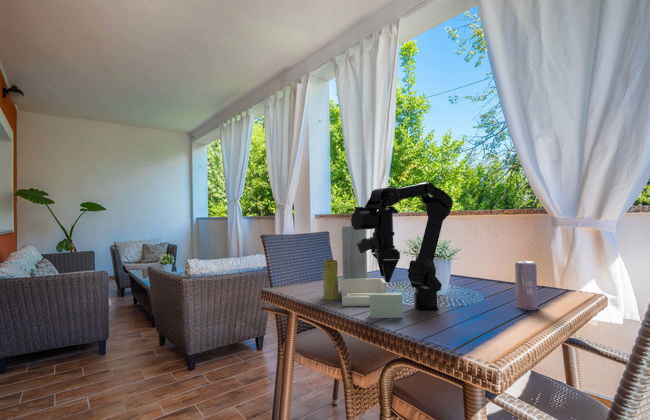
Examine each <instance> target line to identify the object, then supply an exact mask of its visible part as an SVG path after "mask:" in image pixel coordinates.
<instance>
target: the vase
mask: <svg viewBox="0 0 650 420" xmlns="http://www.w3.org/2000/svg"><path fill="white" fill-rule="evenodd" d="M338 271H339V270H338V260H336V259H325V260H323V296H322V299H323V300H325V301H337V300H339V298H340V294H339V293H340V292H339V280H338V279H339V278H338V274H339V273H338Z"/></svg>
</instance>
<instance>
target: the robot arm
mask: <svg viewBox="0 0 650 420" xmlns="http://www.w3.org/2000/svg"><path fill="white" fill-rule="evenodd" d="M419 196H420V198H421V202H422V203H423V204H424V205H426V206H425V212H426V215H427V221H426V225H425V230H424V233H423V236H422V241H421V244H420V248H419V253H418V257H416V259H415V260H410V262H409V265H408V270H407V278H408V279H409V282H410V285H411V288H415V292H414V293H413V298H414V299H413V303H414V304H413V305H414V306H415V307H416V308H417V309H418V310H419V311H430V310H432V311H433V310H435V311H437V310H438V311H439V310H440V307H438V292H439V291H441V290H442V286H443V285H442V283H441V281H440V280H439V279H438V278H437V277H436V273H437V269H436V268H437V267H436V266H435V262H434V260H435V256H436V251H437V247H438V243H439V239H440V235H441V230H442V226H443V222H444V221H445V219H446V218H447V217H448V216H449V215H450V214H451V211H452V208H453V205H454V201H453V198H452V197H451V195H449V194H448V193H447V192H446V191H445V190H443V189H441V188H439V187H437V186H435V185H434V183H432V182H430V181H426V182H420V183H419V182H418V183H417V184H413V185H408V186H403V187H399V188H398V187H383V188H376V189H373V190H372V191H371V193H370V197H369V198H368V201H367V202H366V204H365V205H364V206H356V207H354V212H353V213H352V215H351V218H350V222H351V223H350V224H351V226H353V228H354V229H355V230H365V229H366V230H374V231H373V232H372V236H371V237H368V238H367V237H366V238H364V239H361V241H359V242H357V243H356V244H357V247H358V249H359V252H360V253H364V252H365V251H367V252H368V251H370V252H371V255H372V256H373V257H374V258H375V259H376V262H377V265H378V269H379V273H380V276H381V277H384V281H385V282H386V283H390V282H391V280H392V277H393V274H394V272H395V270H396V267H397V265H398V262H399V260H401V252H400V251H399V250H398V249H397V248H396V245H394V236H395V232H394V220H393V219H394V217H393V214H398V213H399V211H398V210H397V209H396V208H395V207H394V205H396V204H399V202H400V201H402V200H405V199H410V198H414V197H419Z"/></svg>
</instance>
